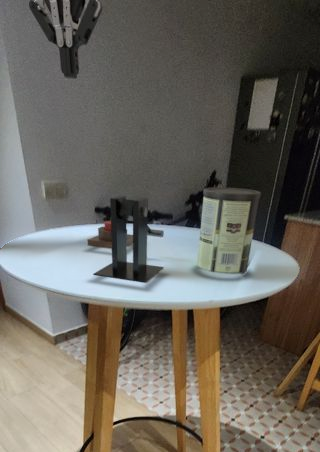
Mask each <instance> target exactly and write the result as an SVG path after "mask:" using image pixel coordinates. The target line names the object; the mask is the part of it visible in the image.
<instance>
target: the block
mask: <svg viewBox="0 0 320 452" xmlns="http://www.w3.org/2000/svg"><path fill="white" fill-rule="evenodd" d="M126 238H127V247H128V246H130V245H133V234H129V233H128V229H127V228H126ZM86 243H87V246H89V247H96V248H104V249H110V250H112V239H111V231H108V230H105V225H104V226H100V227H98V228H97V235H95V236H92V237H90V238H88V239H87V240H86Z"/></svg>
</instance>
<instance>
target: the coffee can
mask: <svg viewBox="0 0 320 452" xmlns="http://www.w3.org/2000/svg"><path fill="white" fill-rule="evenodd" d="M261 196H262V192H261V191H259V190H254V189H250V188H249V189H248V188H239V187H218V186H215V187H214V186H213V187H205V188H203V198H202V208H201V209H202V210H201V219H200V230H199V231H200V232H199V242H198V251H197V262H196V266H197V267H198V268H200V269H202V270H204V271H208V272H212V273H218V274H240V273H243V272H244V273H243V275H242V277H244V276H246V275H247V272H248V265H249V259H250V254H251V248H252V243H253V236H254V232H255V231H254V230H255V225H256V220H257V214H258V209H259V202H260V198H261Z"/></svg>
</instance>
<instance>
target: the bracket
mask: <svg viewBox="0 0 320 452" xmlns="http://www.w3.org/2000/svg"><path fill="white" fill-rule="evenodd" d="M109 199H110V200H109V202H110V203H109V204H110V205H109V206H110V221H111V239H112V249H111V263H109V264H107V265H106V266H104V267H102V268H101V269H99V270H96V272H94V273H92V275H93V276H97V277H98V276H99V277H103V278H110V279H116V280H123V281H130V282H137V283H141V284H142V283H143V284H147V283H148V282H149V281H150V280H151V279H152V278H154V277H155V276H157V274H159V273H160V272H161V271H162V270H163V269H164V266H158V265H152V264H148V263H147V262H148V261H147V260H148V236H147V225H148V218H149V217H148V216H149V215H148V213H149V211H148V210H149V198H148V197H140V198H137V199H132V200H133V221H132V235H133V243H132V262H131V261H128V257H127V256H128V255H127V254H128V253H127V251H128V250H127V247H128V246H127V238H126V229H127V220H125V219H124V218H123V217H122V216H121V215H120V207H121V201H122V199H127V196H126V195H118V196H113V197H110V198H109Z"/></svg>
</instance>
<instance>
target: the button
mask: <svg viewBox="0 0 320 452" xmlns="http://www.w3.org/2000/svg"><path fill="white" fill-rule="evenodd" d="M104 226H105V230H108V231H111V220H106V221H104Z"/></svg>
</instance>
